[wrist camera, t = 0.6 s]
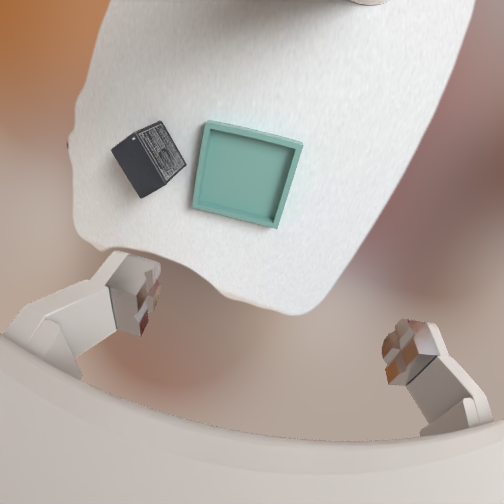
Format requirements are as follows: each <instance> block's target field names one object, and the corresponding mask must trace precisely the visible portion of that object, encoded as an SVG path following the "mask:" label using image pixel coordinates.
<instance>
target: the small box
mask: <svg viewBox="0 0 504 504" xmlns="http://www.w3.org/2000/svg"><path fill="white" fill-rule="evenodd" d="M111 151H112V153H113V155H114V156H115V158H116V160H117V161H118V163H119V165H120V166H121V168H122V170H123V171H124V173H125V174H126V176H127V178H128V179H129V181H130V182H131V184H132V186H133V187H134V189H135V190H136V192H137V194H138V195H139V197H140V198H143V197H145V196H147V195H149V194H151V193H152V192H154V191H156V190H158V189H160V188H161V187H163V186H165V185H166V184H167V183H168V182H169V181H170V180H171V179H172V178H173V177H174V176H175V175H176V174H177V173H178V172H179V171H180V170H181V169H182V168H184V167H185V166H186V163H185V161H184V159H183V158H182V156H181V154H180V152H179V151H178V149H177V147H176V145H175V144H174V142H173V140H172V138H171V137H170V135H169V133H168V131H167V130H166V128H165V126H164V124H163V123H162V121H158V122H157V123H154V124H152V125H150V126H147V127H145V128H143V129H141V130H138V131H136V132H134V133H132V134H131V135H130V136H128V137H127V138H126V139H124V140H123V141H122V142H120V143H119V144H118V145H116V146H115V147H114V148H112V149H111Z"/></svg>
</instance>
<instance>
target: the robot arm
mask: <svg viewBox="0 0 504 504" xmlns="http://www.w3.org/2000/svg"><path fill="white" fill-rule="evenodd" d="M350 1H353V2H356V3H359V4H365V5H378V4H383V3H385V2H388V1H389V0H350ZM159 274H160V264H159V262H156V261H153V260H149V259H146V258H143V257H139V256H136V255H133V254H129V253H126V252H122V251H119V250H116V251H113V252H112V254H111V255H110V256H109V257H108V258H107V259H106V261H105V262H104V263H103V264H102V265H101V267H100V268H99V269H98V270H97V272H96V273H95V274H94V275H93V277H92V278H91V279H90V280H86V279H85V280H83V281H80V282H78V283H76V284H73V285H71V286H68V287H66V288H64V289H61V290H59V291H57V292H54V293H52V294H50V295H47V296H45V297H43V298H40V299H38V300H36V301H34V302H31V303H29V304H27V305H25V306H24V307H23V308H22V309H21V311H20V312H19V313H18V315H17V316H16V317H15V318H14V320H13V321H12V322H11V324H10V325H9V326H8V328H7V329H6V331H5V332H4V333H3V335H2V334H0V504H504V419H501V420H498V421H495V422H493V418H492V414H491V411H490V407H489V404H488V401H487V398H486V395H485V394H484V393H483V391H482V390H481V389H480V388H479V387H478V386H477V384H476V383H475V382H474V381H473V380H472V379H471V378H470V377H469V375H468V374H467V373H466V372H465V371H464V370H463V369H462V367H461V366H460V365H459V364H458V363H457V362H456V361H455V360H454V359H453V358H452V357H449V354H448V352H447V349H446V346H445V344H444V342H443V339H442V337H441V334H440V332H439V329H438V327H437V326H436V325H435V324H434V323H429V322H420V321H415V320H409V319H401V320H400V321H399V322H398V323H397V324H396V325H395V331H394V332H392V333H390V334H388V336H387V337H386V338H385V340H384V342H383V346H382V356H383V359H384V361H385V362H386V363H387V366H386V369H385V371H386V375H387V380H388V384H389V385H403V386H406V387H407V389H408V391H409V392H410V394H411V395H412V397H413V399H414V400H415V402H416V403H417V405H418V407H419V408H420V410H421V411H422V413H423V415H424V416H425V418H426V420H427V421H428V423H429V425H427V426H426V427H424V428H423V429H421V431H420V437H413V438H404V439H392V440H375V441H325V440H306V439H295V438H285V437H276V436H268V435H261V434H254V433H248V432H242V431H236V430H232V429H226V428H222V427H217V426H212V425H208V424H204V423H200V422H195V421H192V420H188V419H184V418H181V417H177V416H174V415H170V414H166V413H164V412H160V411H157V410H154V409H151V408H148V407H145V406H142V405H139V404H136V403H134V402H131V401H128V400H126V399H123V398H121V397H118V396H115V395H113V394H111V393H108V392H106V391H103V390H101V389H99V388H96V387H94V386H92V385H90V384H88V383H85V382H83V381H81V380H80V379H81V377H82V373H81V370H80V368H79V366H78V364H77V362H76V360H75V358H77V357H78V356H79V355H81V354H82V353H84V352H85V351H87V350H88V349H90V348H91V347H93V346H94V345H96V344H97V343H99V342H100V341H102V340H103V339H105V338H106V337H108V336H109V335H111V334H112V333H114V332H115V331H116V329H118V330H121V331H124V332H127V333H130V334H133V335H136V336H140V337H141V336H142V334H143V332H144V330H145V328H146V325H147V324H148V314H149V313H151V312H153V311H154V309H155V307H156V305H157V302H158V298H159V294H160V282H159V281H158V280H157V278H158V276H159Z"/></svg>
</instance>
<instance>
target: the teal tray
mask: <svg viewBox="0 0 504 504" xmlns="http://www.w3.org/2000/svg"><path fill="white" fill-rule="evenodd" d="M302 148H303V143H302V142H299V141H296V140H292V139H289V138H285V137H281V136H278V135H274V134H270V133H266V132H262V131H258V130H254V129H249V128H245V127H241V126H236V125H231V124H226V123H221V122H216V121H211V120H209V121H207V122H205V128H204V133H203V138H202V144H201V150H200V156H199V162H198V168H197V175H196V181H195V188H194V195H193V202H192V208H195V209H200V210H204V211H208V212H212V213H216V214H220V215H224V216H228V217H232V218H236V219H240V220H244V221H248V222H252V223H256V224H260V225H264V226H267V227H271V228H275V229H277V228H278V225H279V221H280V218H281V215H282V212H283V209H284V206H285V202H286V199H287V196H288V193H289V190H290V186H291V183H292V180H293V177H294V174H295V170H296V167H297V164H298V161H299V157H300V154H301V151H302Z"/></svg>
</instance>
